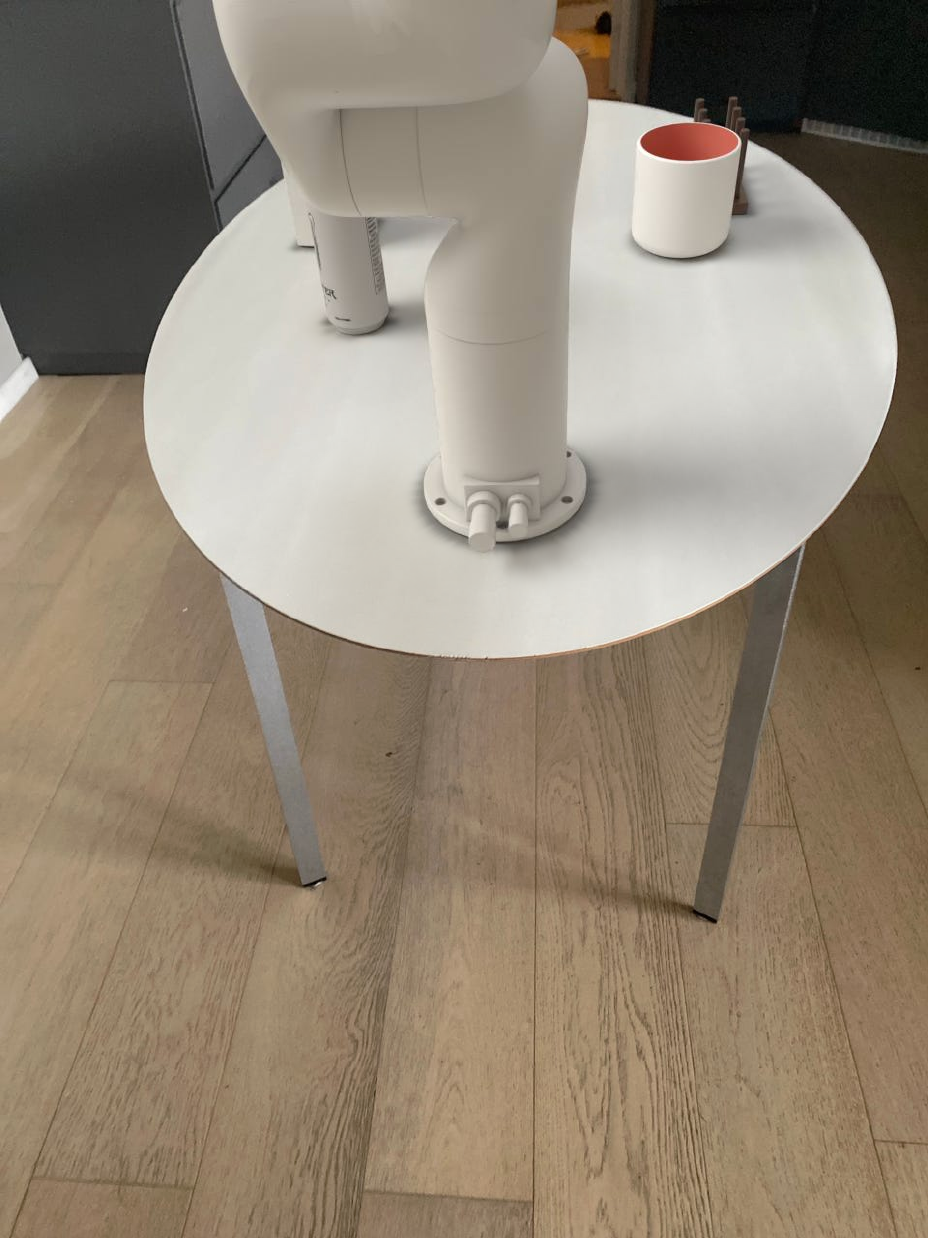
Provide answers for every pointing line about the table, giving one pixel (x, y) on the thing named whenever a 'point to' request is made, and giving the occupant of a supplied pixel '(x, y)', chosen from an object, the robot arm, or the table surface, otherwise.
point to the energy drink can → (350, 270)
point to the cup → (684, 188)
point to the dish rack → (737, 126)
